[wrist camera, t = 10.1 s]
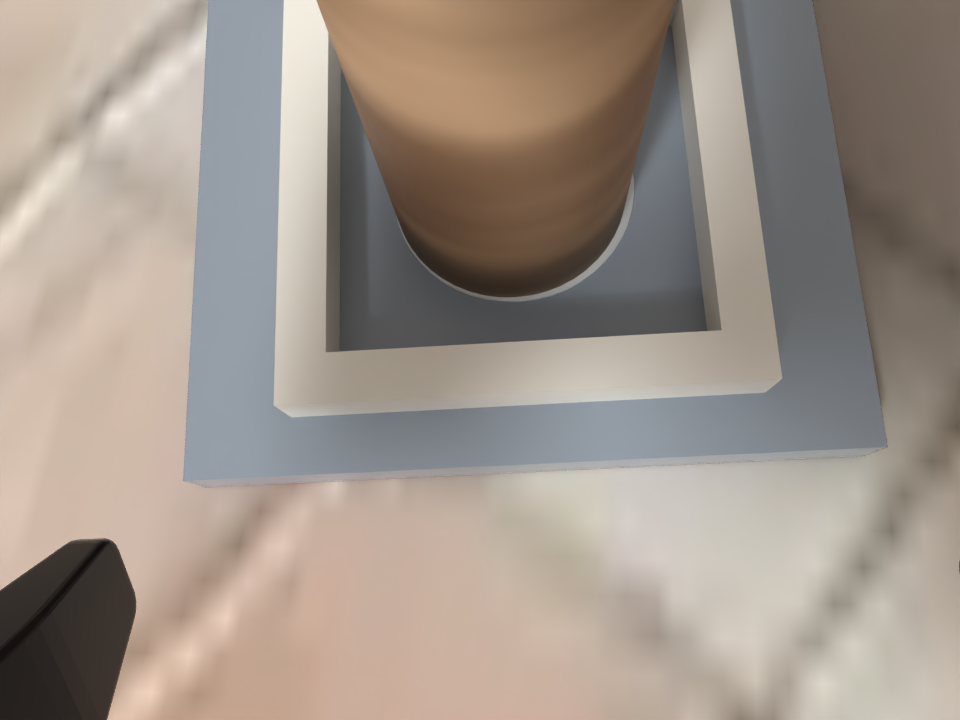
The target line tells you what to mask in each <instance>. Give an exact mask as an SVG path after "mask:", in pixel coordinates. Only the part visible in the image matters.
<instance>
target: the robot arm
mask: <svg viewBox="0 0 960 720" xmlns="http://www.w3.org/2000/svg"><path fill="white" fill-rule="evenodd" d="M959 571H960V562H959ZM135 613H136V597H135V592H134V589H133V587H132V584H131V581H130V579H129V576H128V573H127V571H126V568H125V565H124V563H123V560H122V558H121V555H120V552H119V550H118V548H117V546H116V544H115V543H114V542H113V541H111V540H109V539H105V538H103V539H80V540H74V541H71V542H69V543H67V544H66V545H64V546H63V547H61V548H60V549H58V550H57V551H56V552H54V553H53V554H51V555H50V556H48V557H47V558H46V559H44V560H43V561H41V562H40V563H38V564H37V565H36V566H34V567H33V568H31V569H30V570H28V571H27V572H26V573H24V574H23V575H21V576H20V577H19V578H17V579H16V580H14V581H13V582H11V583H10V584H9V585H7V586H6V587H4V588H3V589H1V590H0V720H107V718H108V714H109V711H110V707H111V703H112V700H113V696H114V692H115V689H116V685H117V681H118V677H119V674H120V670H121V666H122V663H123V659H124V655H125V652H126V648H127V644H128V641H129V637H130V633H131V629H132V626H133V622H134V618H135Z"/></svg>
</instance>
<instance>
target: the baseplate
mask: <svg viewBox="0 0 960 720" xmlns="http://www.w3.org/2000/svg"><path fill="white" fill-rule="evenodd" d="M886 447H888V445H887V439H886V433H885V427H884V421H883V415H882V409H881V403H880V397H879V392H878V386H877V380H876V374H875V368H874V362H873V356H872V350H871V344H870V338H869V332H868V326H867V320H866V314H865V308H864V303H863V297H862V291H861V285H860V279H859V273H858V267H857V261H856V255H855V249H854V243H853V237H852V231H851V225H850V219H849V214H848V208H847V202H846V196H845V190H844V184H843V178H842V172H841V166H840V160H839V154H838V148H837V142H836V136H835V130H834V124H833V119H832V113H831V107H830V101H829V95H828V89H827V83H826V77H825V71H824V65H823V59H822V53H821V47H820V41H819V35H818V30H817V24H816V18H815V12H814V6H813V0H674V4H673V9H672V13H671V17H670V21H669V25H668V29H667V33H666V38H665V42H664V46H663V50H662V54H661V58H660V62H659V67H658V71H657V75H656V79H655V83H654V87H653V91H652V96H651V100H650V104H649V108H648V112H647V116H646V120H645V125H644V129H643V133H642V137H641V141H640V145H639V149H638V153H637V158H636V162H635V166H634V170H633V174H632V178H631V182H630V187H629V191H628V195H627V199H626V203H625V207H624V211H623V215H622V218H621V222H620V224H619V227H618V229H617V231H616V234H615V236H614V237H613V239H612V241H611V242H610V244H609V246H608V247H607V249H606V250H605V251H604V252H603V254H602V255H601V256H600V257H599V258H598V260H597V261H596V262H594V263H593V264H592V265H591V266H590V267H589V268H588V269H587V270H586V271H584V272H583V273H582V274H580V275H579V276H577V277H576V278H575V279H573V280H571V281H569V282H567V283H565V284H563V285H562V286H560V287H557V288H554V289H552V290H549V291H546V292H543V293H539V294H535V295H531V296H522V297H494V296H486V295H481V294H477V293H473V292H470V291H467V290H464V289H462V288H459V287H457V286H455V285H453V284H451V283H449V282H447V281H446V280H444V279H442V278H441V277H439V276H438V275H437V274H435V273H434V272H433V271H431V270H430V269H429V268H428V267H427V266H426V265H425V264H424V263H423V262H422V261H421V260H420V259H419V258H418V256H417V255H416V254H415V252H414V251H413V250H412V249H411V247H410V245H409V243H408V242H407V240H406V238H405V236H404V234H403V232H402V229H401V226H400V224H399V221H398V219H397V216H396V213H395V210H394V208H393V205H392V202H391V200H390V197H389V194H388V192H387V189H386V186H385V184H384V181H383V178H382V176H381V173H380V170H379V167H378V165H377V162H376V159H375V157H374V154H373V151H372V149H371V146H370V143H369V141H368V138H367V135H366V133H365V130H364V127H363V124H362V122H361V119H360V116H359V114H358V111H357V108H356V106H355V103H354V100H353V98H352V95H351V92H350V89H349V87H348V84H347V81H346V79H345V76H344V73H343V71H342V68H341V65H340V63H339V60H338V57H337V55H336V52H335V49H334V46H333V44H332V41H331V38H330V36H329V33H328V30H327V28H326V25H325V22H324V20H323V17H322V14H321V12H320V9H319V6H318V3H317V1H316V0H209V2H208V21H207V40H206V58H205V77H204V96H203V115H202V134H201V153H200V172H199V191H198V210H197V229H196V248H195V267H194V286H193V305H192V323H191V342H190V361H189V380H188V399H187V418H186V437H185V456H184V475H183V481H185V482H188V483H192V484H195V485H198V486H202V487H205V488H207V487H228V486H249V485H270V484H291V483H312V482H332V481H353V480H374V479H395V478H416V477H437V476H458V475H478V474H499V473H520V472H541V471H562V470H583V469H604V468H624V467H645V466H666V465H687V464H708V463H729V462H750V461H770V460H791V459H812V458H833V457H854V456H866V455H868V454H871V453H873V452H876V451H879V450H881V449H884V448H886Z"/></svg>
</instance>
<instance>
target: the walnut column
mask: <svg viewBox="0 0 960 720" xmlns="http://www.w3.org/2000/svg"><path fill="white" fill-rule="evenodd" d="M316 1H317V3H318V6H319V9H320V12H321V14H322V17H323V20H324V22H325V25H326V28H327V30H328V33H329V36H330V38H331V41H332V44H333V46H334V49H335V52H336V55H337V57H338V60H339V63H340V65H341V68H342V71H343V73H344V76H345V79H346V81H347V84H348V87H349V89H350V92H351V95H352V98H353V100H354V103H355V106H356V108H357V111H358V114H359V116H360V119H361V122H362V124H363V127H364V130H365V133H366V135H367V138H368V141H369V143H370V146H371V149H372V151H373V154H374V157H375V159H376V162H377V165H378V167H379V170H380V173H381V176H382V178H383V181H384V184H385V186H386V189H387V192H388V194H389V197H390V200H391V202H392V205H393V208H394V210H395V213H396V216H397V219H398V221H399V224H400V226H401V229H402V232H403V234H404V236H405V238H406V240H407V242H408V243H409V245H410V247H411V249H412V250H413V251H414V252H415V254H416V255H417V256H418V258H419V259H420V260H421V261H422V262H423V263H424V264H425V265H426V266H427V267H428V268H429V269H430V270H431V271H433V272H434V273H435V274H437V275H438V276H439V277H441V278H442V279H444V280H446V281H447V282H449V283H451V284H453V285H455V286H457V287H459V288H462V289H464V290H467V291H470V292H473V293H477V294H481V295H486V296H494V297H522V296H531V295H535V294H539V293H543V292H546V291H549V290H552V289H554V288H557V287H560V286H562V285H563V284H565V283H567V282H569V281H571V280H573V279H575V278H576V277H577V276H579V275H580V274H582V273H583V272H584V271H586V270H587V269H588V268H589V267H590V266H591V265H592V264H593V263H594V262H596V261H597V260H598V258H599V257H600V256H601V255H602V254H603V252H604V251H605V250H606V249H607V247H608V246H609V244H610V242H611V241H612V239H613V237H614V236H615V234H616V231H617V229H618V227H619V224H620V222H621V218H622V215H623V211H624V207H625V203H626V199H627V195H628V191H629V187H630V182H631V178H632V174H633V170H634V166H635V162H636V158H637V153H638V149H639V145H640V141H641V137H642V133H643V129H644V125H645V120H646V116H647V112H648V108H649V104H650V100H651V96H652V91H653V87H654V83H655V79H656V75H657V71H658V67H659V62H660V58H661V54H662V50H663V46H664V42H665V38H666V33H667V29H668V25H669V21H670V17H671V13H672V9H673V4H674V0H316Z"/></svg>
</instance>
